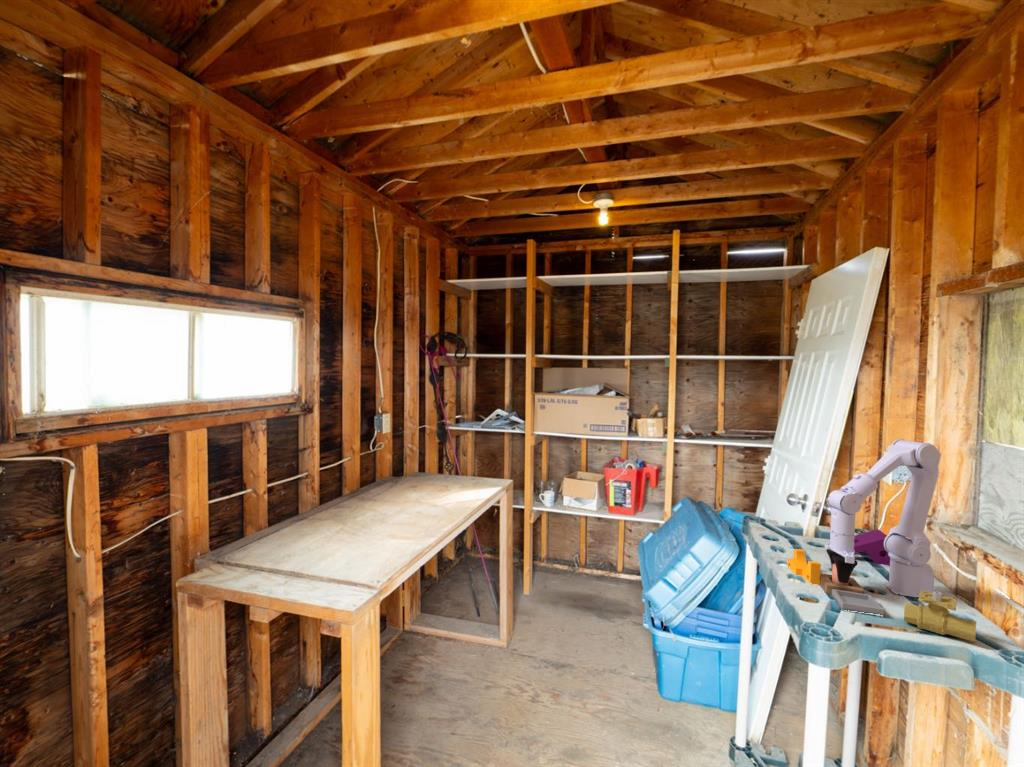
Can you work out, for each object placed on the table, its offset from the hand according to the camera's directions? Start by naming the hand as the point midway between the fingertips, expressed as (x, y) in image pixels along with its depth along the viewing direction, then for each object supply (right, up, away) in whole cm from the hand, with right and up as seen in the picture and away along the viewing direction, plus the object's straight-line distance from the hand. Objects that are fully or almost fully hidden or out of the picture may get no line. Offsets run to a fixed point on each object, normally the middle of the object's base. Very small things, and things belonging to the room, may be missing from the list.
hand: (840, 579), depth 134 cm
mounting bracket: (+25, -4, +27) cm, 37 cm away
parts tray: (-3, -3, -10) cm, 11 cm away
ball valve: (+9, -4, -21) cm, 23 cm away
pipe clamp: (-5, -3, +9) cm, 11 cm away
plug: (0, -3, 0) cm, 3 cm away
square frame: (0, -3, 0) cm, 3 cm away
